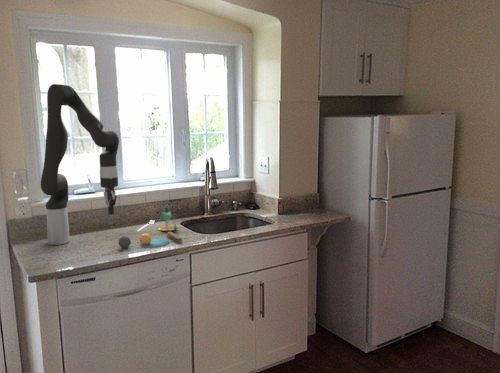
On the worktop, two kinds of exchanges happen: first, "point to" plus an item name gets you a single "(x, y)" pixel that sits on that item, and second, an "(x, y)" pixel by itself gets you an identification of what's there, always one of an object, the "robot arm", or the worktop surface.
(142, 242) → the object ball
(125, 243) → the dark grey ball
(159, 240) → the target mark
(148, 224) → the fork
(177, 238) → the wall
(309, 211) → the worktop surface
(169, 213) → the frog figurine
